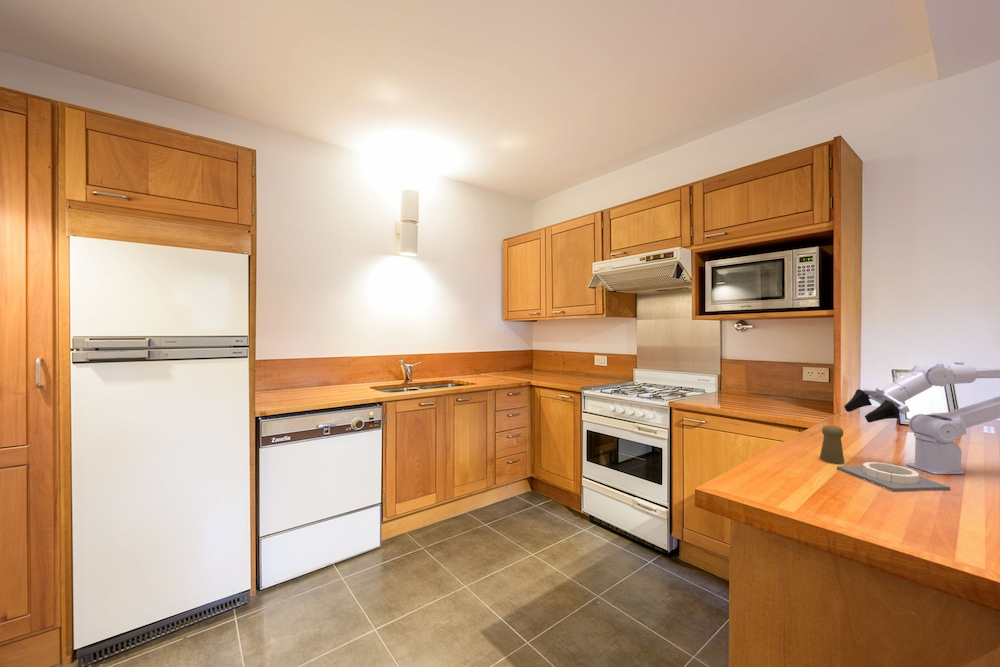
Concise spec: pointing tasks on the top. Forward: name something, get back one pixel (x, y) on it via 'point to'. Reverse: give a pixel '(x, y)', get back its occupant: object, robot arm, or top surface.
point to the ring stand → (892, 477)
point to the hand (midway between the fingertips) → (856, 414)
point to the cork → (832, 445)
